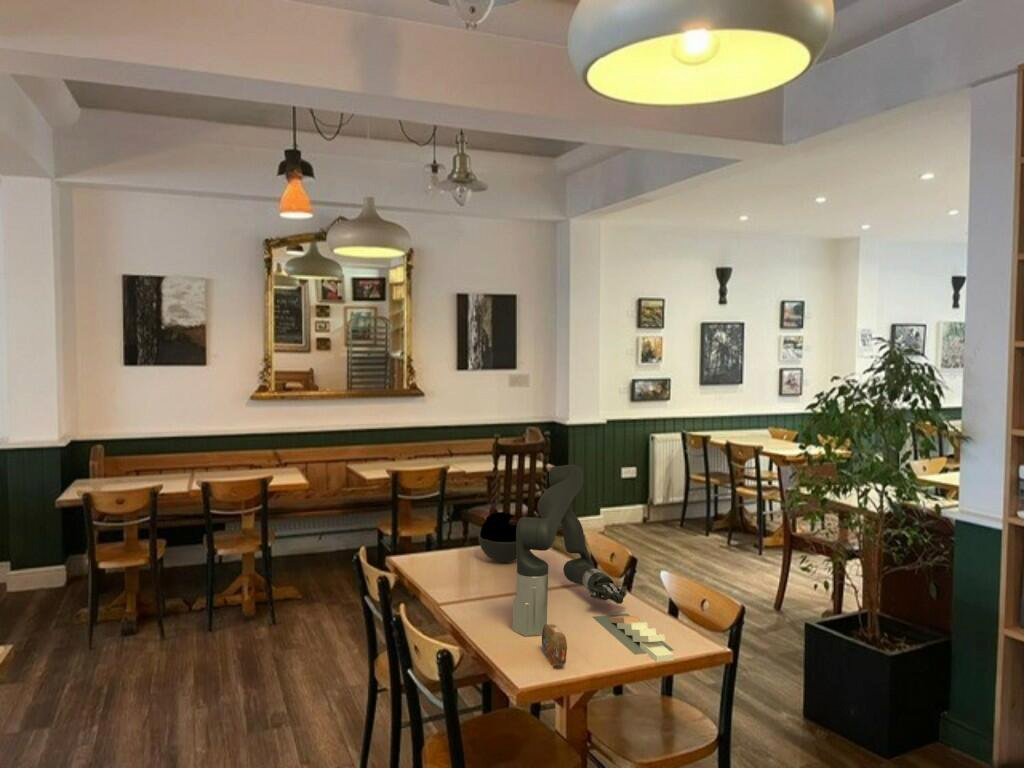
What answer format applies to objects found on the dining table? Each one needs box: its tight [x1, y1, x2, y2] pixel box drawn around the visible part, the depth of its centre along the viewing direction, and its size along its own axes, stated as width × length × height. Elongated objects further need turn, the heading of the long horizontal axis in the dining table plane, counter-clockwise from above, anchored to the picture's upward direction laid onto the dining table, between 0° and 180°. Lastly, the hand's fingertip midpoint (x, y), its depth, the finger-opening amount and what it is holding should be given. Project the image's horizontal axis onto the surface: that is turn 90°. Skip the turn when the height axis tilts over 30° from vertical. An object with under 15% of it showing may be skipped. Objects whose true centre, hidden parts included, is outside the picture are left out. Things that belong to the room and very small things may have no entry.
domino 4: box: [632, 633, 666, 642], centre depth 211 cm, size 2×5×10 cm
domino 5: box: [640, 641, 675, 663], centre depth 206 cm, size 2×5×10 cm
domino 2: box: [617, 621, 649, 630], centre depth 221 cm, size 2×5×10 cm
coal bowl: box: [477, 511, 517, 564], centre depth 294 cm, size 20×20×19 cm
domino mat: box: [592, 613, 675, 655], centre depth 222 cm, size 30×12×1 cm, turn 17°
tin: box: [541, 623, 568, 668], centre depth 202 cm, size 15×3×8 cm, turn 14°
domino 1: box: [610, 615, 641, 623], centre depth 225 cm, size 2×5×10 cm
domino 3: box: [625, 627, 657, 636], centre depth 216 cm, size 2×5×10 cm
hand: (620, 600), depth 229 cm, fingers closed
